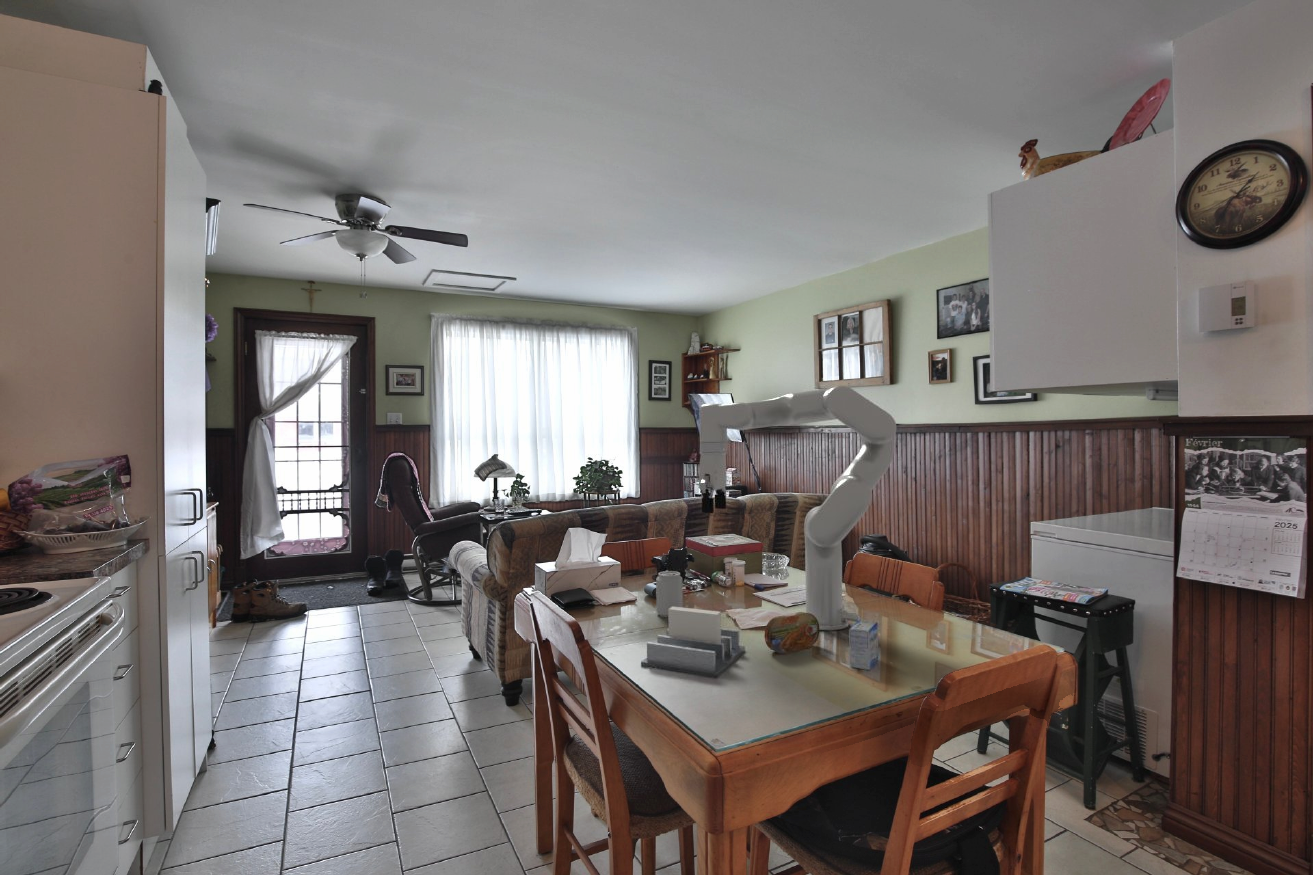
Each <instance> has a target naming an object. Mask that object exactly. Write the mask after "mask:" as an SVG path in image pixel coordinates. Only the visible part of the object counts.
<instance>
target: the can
mask: <svg viewBox="0 0 1313 875" xmlns="http://www.w3.org/2000/svg"><path fill="white" fill-rule="evenodd" d="M655 578H656V582H655V585H656V588H655V589H656V590H655V591H656V613H657V614H658V615H659V616H660V617H663V618H668V609H669V608H671V607H682V608H684V607H683V606H684V605H683V600H684V599H683V577H682V576H681V572H678V571H676V570H675V571H674V570H673V571H672V570H665V571H660V572H658V576H657V577H655Z"/></svg>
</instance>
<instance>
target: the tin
mask: <svg viewBox="0 0 1313 875" xmlns="http://www.w3.org/2000/svg"><path fill="white" fill-rule="evenodd" d="M820 631H821V630H820V628H819V623H818V620H817V619H816V617H815V616H814V615H812V614H810V613H806V611H798V612H794V613H789V614H785V615H778V616H774V617H773V618H771V619H770V620H769V621H768V623H767V624H766V625H765V628H764V640H765V644H766V646H767V647H768V649H770V650H772V651H773V652H776V653H777V654H781V655H784V654H790V653H793V652H797V651H802V650H806V649H810V648H811V647H813V646H815V644H816V642H817V641H818V639H819V636H820Z"/></svg>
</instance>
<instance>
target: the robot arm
mask: <svg viewBox="0 0 1313 875" xmlns="http://www.w3.org/2000/svg"><path fill="white" fill-rule="evenodd" d="M698 411H699V412H698V413H699V418H698V419H699V420H698V421H699V455H700V457H699V466H698V467H699V469H698V471H699V472H698V488H699V490H700V493H701V496H700V498H701V512H702V513H703V514H714V512H715V510H714V509H719V510H725V509H727V489H726V488H727V476H728V475H727V460H726V455H727V454H728V430H736V431H737V430H738V431H744V430H746V431H747V430H751V429H752V430H753V429H759V428H767V427H774V426H775V427H777V426H796V425H801V424H802V425H803V424H812V423H819V422H825V421H833V420H838V421H839V422H841V424H843V425H845V426H846V427H848V428H849V429H851V431H854V432H855V433H857V434H858V435H859V437H860V439H861V440H860V441H861V444H860V449H859V450H858V452H857V455H855V457H854V458H853V460H852V461H851V462H850V464H849V465H848V466H847V467H846V469H845V470H844V471H843V472H842V474H841V475H840V476H839V477H838V478H837V479H836V480H834V482H833V484H832V486H831V489H830V494H829V495H828V496H827V498H826V499H825V500H824V501H823V502H822V504H821V505H818V506H814V507H813V508H811V509H810V510H809V511H808V512H807V513H806V515H805V517H804V518H805V519H804V525H803V529H804V530H803V531H804V532H803V534H804V549H805V550H804V551H805V552H804V553H805V554H804V555H805V558H804V559H805V564H804V565H805V568H804V569H805V572H804V574H805V613H810V614H812V615H814V616H815V617H816V619H817V620H818V623H819V628H820V631H821V630H822V631H837V630H838V631H839V630H842V629H843V630H844V629H846V628H848V627H849V621H850V622H856V623H857V622H858V621H859V620H860V613H859V614H858V613H857V612H851V611H847V610H846V606H844V605H843V551H842V550H843V549H842V541H843V540H844V539H845V538H846V537H847V535H848V534H849V533H850V532H851V531H852V529H853V528H854V527H855V526H856V524H858V523H859V521H860V520H861V518H862V517H863V516H864V515H865V514H866V512H867V511H868V509H869V507H870V505H871V502H872V499H873V493H872V491H873V489H874V488H875V487H877V486H876V485H877V484H878V483H879V481H880V480H881V479H882V478H883V476H884V475H885V473H886V472H887V471H888V469H889V468H890V465H891V464H892V462H893V459H894V454H895V440H894V436H896V433H897V424H896V420H895V418H894V417H893V416H892V415H891V414H890V413H889V412H888V411H886V410H884V409H883V408H881V407H880V406H878V405H877V404H875V403H874V402H872V401H871V400H869V399H868V398H866V397H864V396H863V395H862V394H860V393H859V392H857V391H856V390H854V389H853V388H852V387H849V386H847V385H836V386H834V387H829V388H822V389H816V390H809V391H801V392H799V391H798V392H792V393H789V394H784V395H782V396H779V397H775V398H771V399H766V400H760V401H751V402H733V403H726V404H725V403H724V404H722V403H706V404H705V403H704V404H702V405H701V406H700V407H699V410H698ZM714 492H715V494H714ZM713 496H714V497H713Z"/></svg>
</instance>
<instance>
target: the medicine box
mask: <svg viewBox="0 0 1313 875" xmlns="http://www.w3.org/2000/svg"><path fill="white" fill-rule="evenodd" d="M878 625H879V624H878V622H877V621H872V620H864V619H863V620H862V619H859V621H858V622H856V623H854V624H853V625H852V626H851V627H850V628H849V629H848V640H849V641H848V644H849V646H848V647H849V667H850V668H855V669H861V670H865V671H870V670H871V669H872V668H873V666H874V665H875V664H876V663H877V661H878V660H879V627H878Z"/></svg>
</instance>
